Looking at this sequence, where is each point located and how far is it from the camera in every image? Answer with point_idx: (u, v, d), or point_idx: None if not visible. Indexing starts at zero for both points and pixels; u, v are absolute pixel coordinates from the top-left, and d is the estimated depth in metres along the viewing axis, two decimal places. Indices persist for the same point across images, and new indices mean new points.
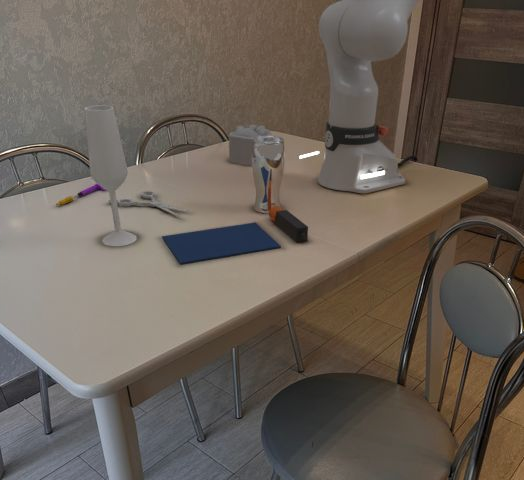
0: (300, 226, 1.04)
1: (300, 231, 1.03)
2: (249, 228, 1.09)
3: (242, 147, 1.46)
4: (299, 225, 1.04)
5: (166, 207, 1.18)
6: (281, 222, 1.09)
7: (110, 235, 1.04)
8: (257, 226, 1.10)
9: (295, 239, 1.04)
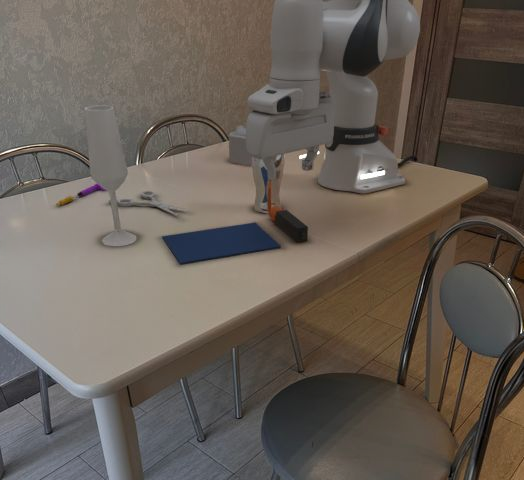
0: (300, 226, 1.04)
1: (300, 231, 1.03)
2: (249, 228, 1.09)
3: (242, 147, 1.46)
4: (299, 225, 1.04)
5: (166, 207, 1.18)
6: (281, 222, 1.09)
7: (110, 235, 1.04)
8: (257, 226, 1.10)
9: (295, 239, 1.04)
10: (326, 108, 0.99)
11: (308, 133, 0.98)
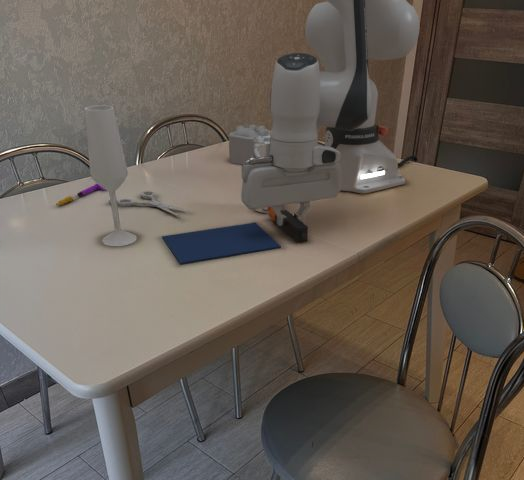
0: (300, 226, 1.04)
1: (300, 231, 1.03)
2: (249, 228, 1.09)
3: (242, 146, 1.46)
4: (299, 225, 1.04)
5: (166, 207, 1.18)
6: None
7: (110, 235, 1.04)
8: (257, 226, 1.10)
9: (295, 239, 1.04)
10: None
11: None
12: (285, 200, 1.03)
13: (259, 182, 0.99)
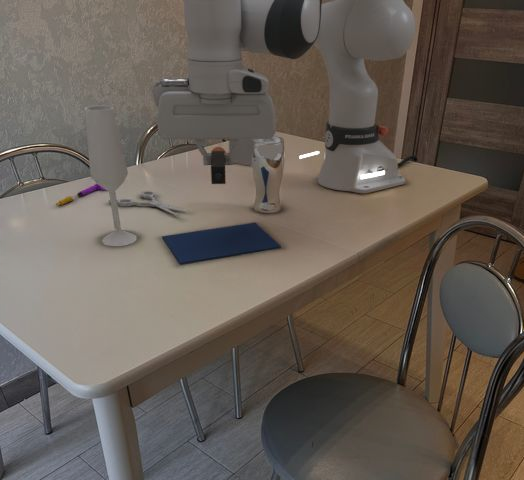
0: (217, 164, 0.91)
1: (215, 171, 0.91)
2: (249, 228, 1.09)
3: (242, 146, 1.46)
4: (217, 164, 0.91)
5: (166, 207, 1.18)
6: None
7: (110, 235, 1.04)
8: (257, 226, 1.10)
9: None
10: None
11: None
12: (204, 133, 0.91)
13: (170, 107, 0.88)
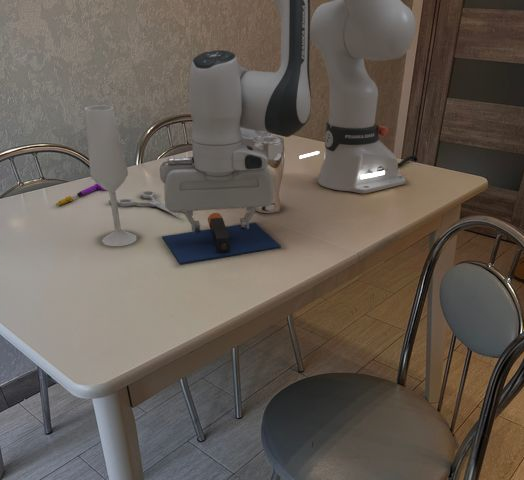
0: (221, 235, 0.98)
1: (220, 241, 0.98)
2: (249, 228, 1.09)
3: None
4: (221, 235, 0.99)
5: None
6: (212, 230, 1.04)
7: (110, 235, 1.04)
8: (257, 226, 1.10)
9: (216, 249, 0.99)
10: None
11: None
12: (209, 205, 0.98)
13: (177, 184, 0.94)
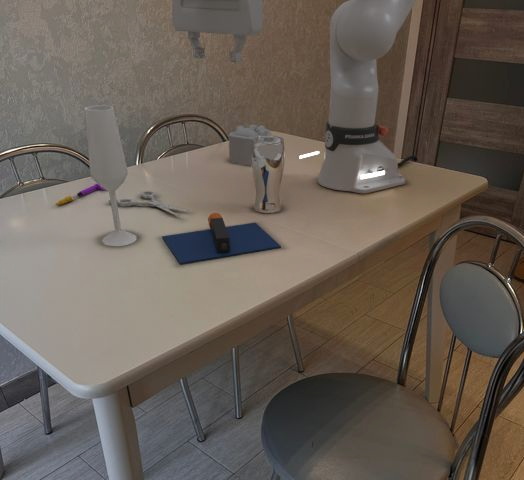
0: (221, 235, 0.98)
1: (220, 241, 0.98)
2: (249, 228, 1.09)
3: (242, 147, 1.46)
4: (221, 235, 0.99)
5: (166, 207, 1.18)
6: (212, 230, 1.04)
7: (110, 235, 1.04)
8: (257, 226, 1.10)
9: (216, 249, 0.99)
10: None
11: None
12: (201, 26, 1.03)
13: (179, 0, 1.03)
